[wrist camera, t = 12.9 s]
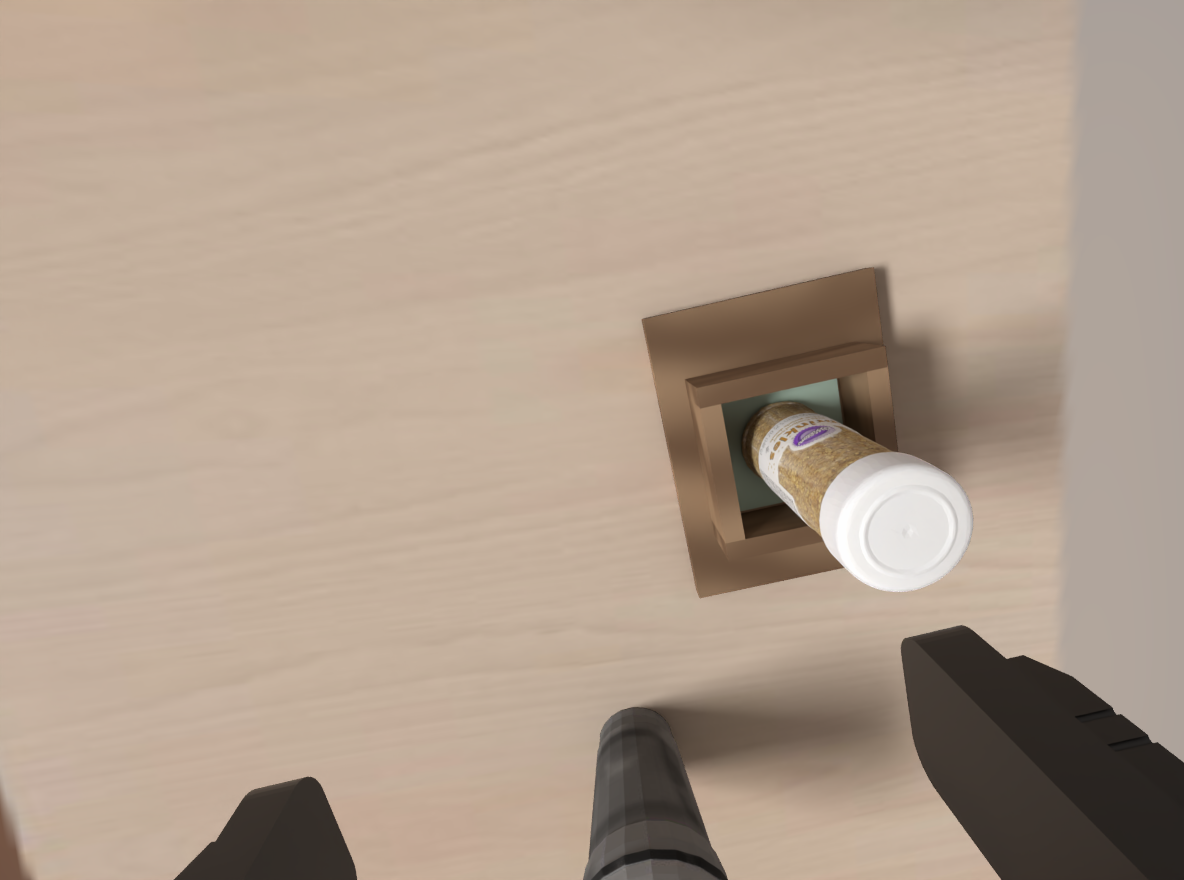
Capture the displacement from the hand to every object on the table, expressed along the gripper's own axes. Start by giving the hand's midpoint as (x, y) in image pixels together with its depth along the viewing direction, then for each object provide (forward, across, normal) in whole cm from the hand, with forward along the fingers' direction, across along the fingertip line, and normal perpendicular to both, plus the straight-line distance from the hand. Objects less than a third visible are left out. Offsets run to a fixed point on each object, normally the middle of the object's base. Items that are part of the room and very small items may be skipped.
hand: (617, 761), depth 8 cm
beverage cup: (+26, +2, +21) cm, 34 cm away
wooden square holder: (+26, -10, +4) cm, 28 cm away
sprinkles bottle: (+25, -10, +4) cm, 27 cm away
